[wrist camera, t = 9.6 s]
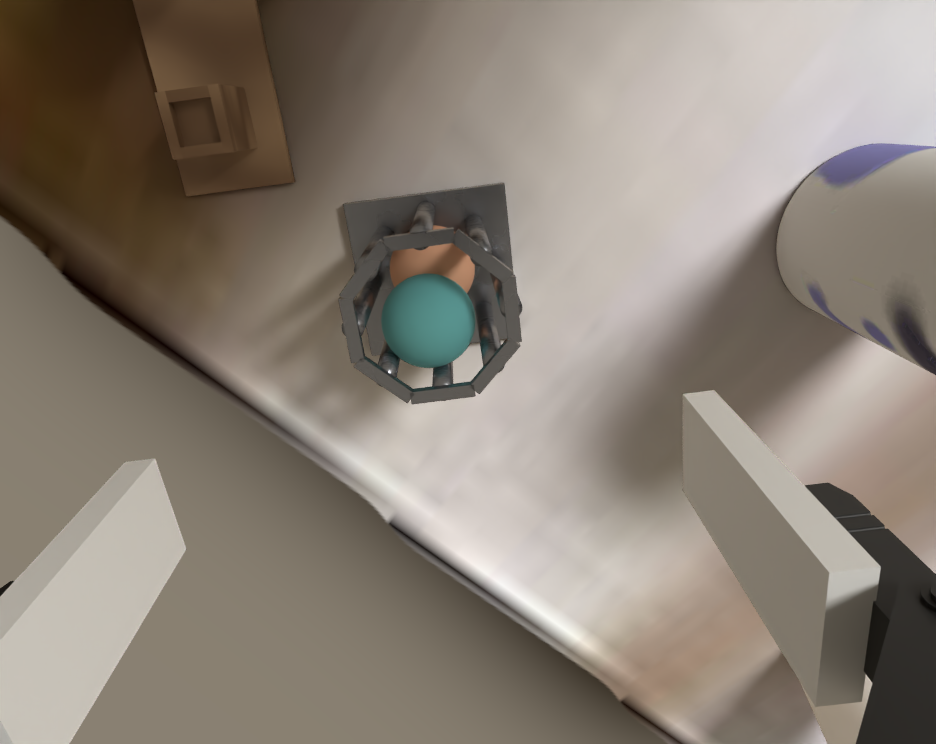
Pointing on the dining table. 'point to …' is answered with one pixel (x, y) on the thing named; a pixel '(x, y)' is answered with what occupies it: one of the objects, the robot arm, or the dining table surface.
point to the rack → (215, 93)
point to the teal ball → (428, 320)
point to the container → (868, 246)
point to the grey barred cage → (386, 230)
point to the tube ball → (433, 263)
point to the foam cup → (841, 718)
